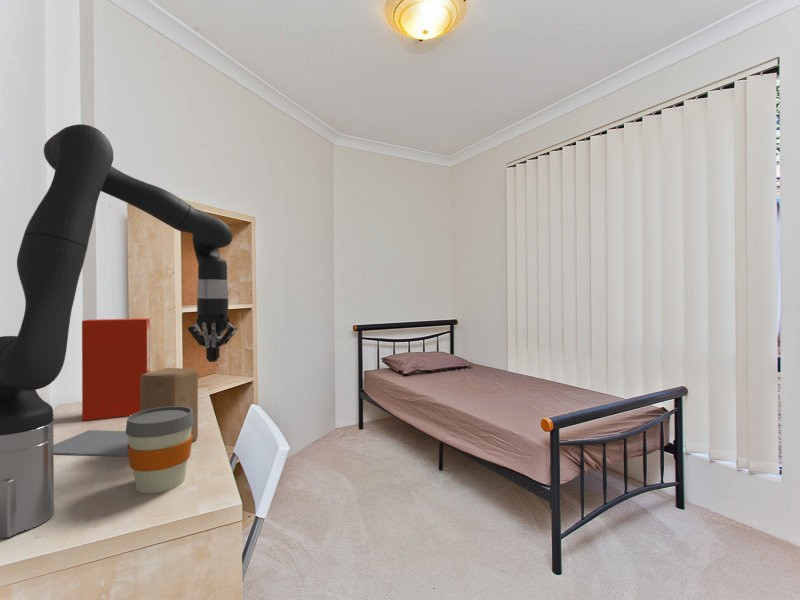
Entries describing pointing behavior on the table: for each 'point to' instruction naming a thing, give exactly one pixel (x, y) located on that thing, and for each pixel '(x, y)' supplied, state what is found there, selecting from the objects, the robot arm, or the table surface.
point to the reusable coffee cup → (159, 447)
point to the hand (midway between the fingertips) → (213, 361)
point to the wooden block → (171, 391)
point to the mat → (94, 444)
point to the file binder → (113, 366)
